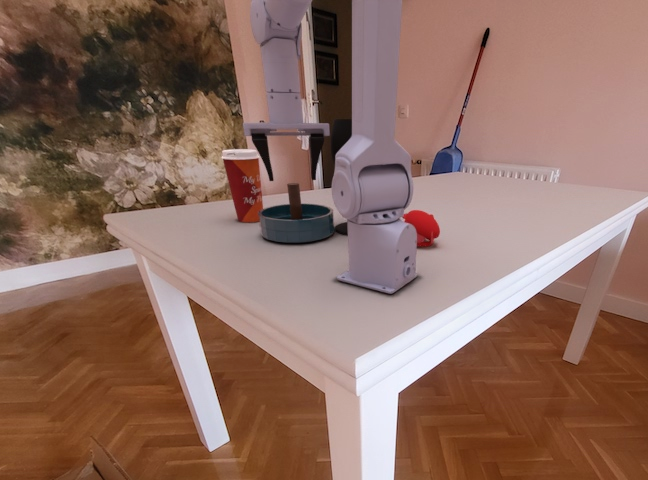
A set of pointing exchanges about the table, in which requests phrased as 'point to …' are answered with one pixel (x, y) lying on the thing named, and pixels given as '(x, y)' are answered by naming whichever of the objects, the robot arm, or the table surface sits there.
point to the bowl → (296, 223)
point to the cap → (423, 226)
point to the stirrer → (295, 201)
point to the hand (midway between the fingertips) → (292, 179)
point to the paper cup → (244, 182)
